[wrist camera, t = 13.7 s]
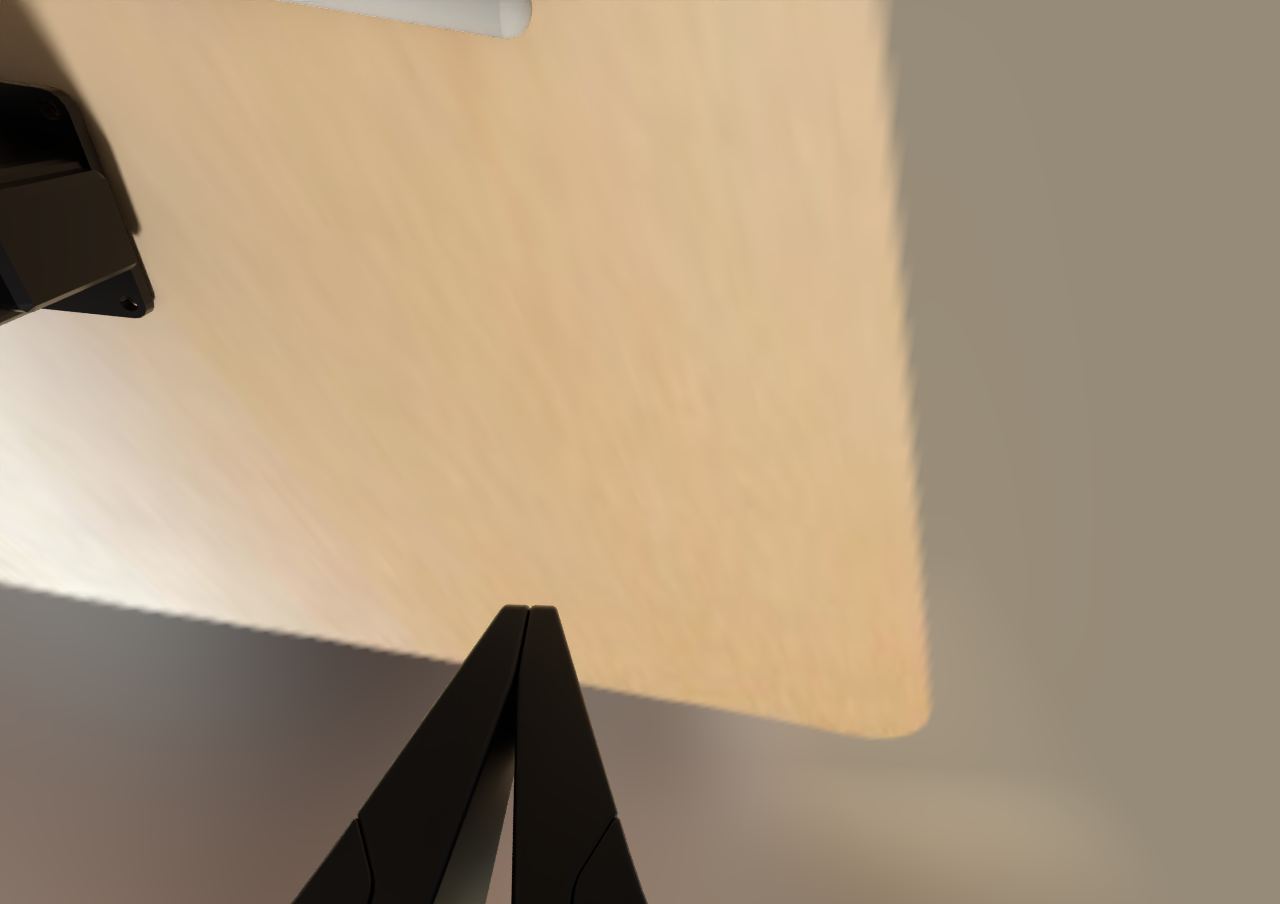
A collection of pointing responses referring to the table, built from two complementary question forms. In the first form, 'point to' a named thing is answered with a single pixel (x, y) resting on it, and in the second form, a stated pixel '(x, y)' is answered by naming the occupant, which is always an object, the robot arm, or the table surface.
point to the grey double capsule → (442, 13)
